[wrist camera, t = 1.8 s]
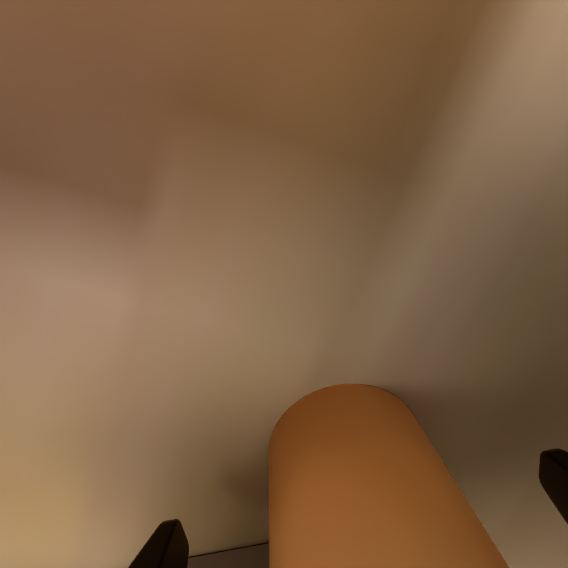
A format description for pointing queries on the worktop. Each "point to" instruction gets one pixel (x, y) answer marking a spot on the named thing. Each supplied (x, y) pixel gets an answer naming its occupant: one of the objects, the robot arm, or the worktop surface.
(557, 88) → the worktop surface
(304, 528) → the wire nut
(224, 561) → the plate
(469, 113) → the worktop surface
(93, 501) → the worktop surface
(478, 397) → the worktop surface
